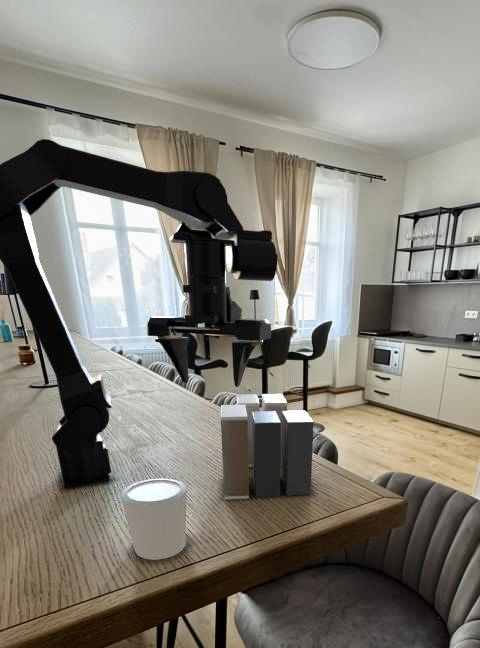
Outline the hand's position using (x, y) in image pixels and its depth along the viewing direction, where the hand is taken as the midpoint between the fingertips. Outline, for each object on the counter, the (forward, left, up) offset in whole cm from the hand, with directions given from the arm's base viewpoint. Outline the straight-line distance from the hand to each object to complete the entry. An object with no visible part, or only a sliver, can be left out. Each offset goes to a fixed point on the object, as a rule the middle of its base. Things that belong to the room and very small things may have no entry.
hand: (211, 384), depth 67 cm
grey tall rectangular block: (+6, -2, -14) cm, 15 cm away
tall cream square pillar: (-1, -12, -14) cm, 18 cm away
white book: (+10, -3, -14) cm, 17 cm away
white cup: (-15, -22, -14) cm, 30 cm away
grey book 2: (+7, -15, -14) cm, 22 cm away
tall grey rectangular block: (+3, -14, -14) cm, 19 cm away
